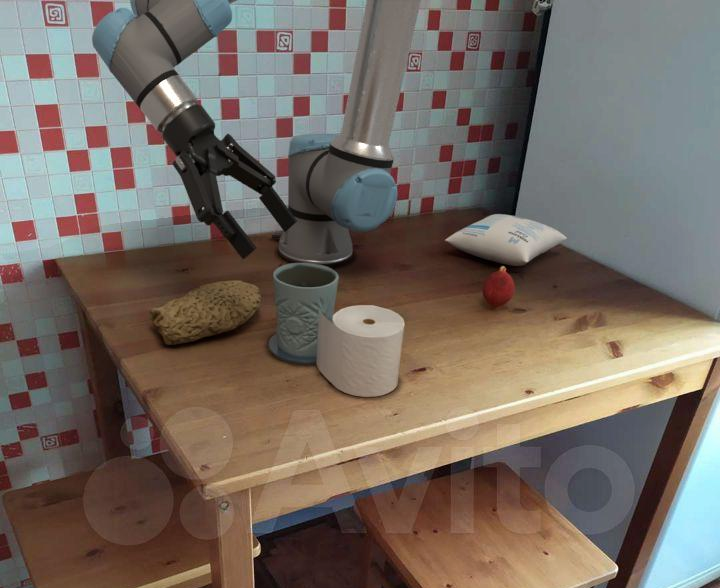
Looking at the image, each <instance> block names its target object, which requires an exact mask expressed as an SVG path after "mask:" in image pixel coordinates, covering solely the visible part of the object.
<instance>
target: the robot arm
mask: <svg viewBox="0 0 720 588" xmlns="http://www.w3.org/2000/svg"><path fill="white" fill-rule="evenodd" d="M237 1H238V0H129V3H130V7H131V10H130V8H128V7H119V8H117V9H116V10H114V11H110V12H109V13H107V14H106V15H105V16H104V17H102V19H101V20H100V21H99V22H98V23H97V24H96V26H95V28H94V30H93V32H92V36H91V39H92V40H91V42H92V47H93V48H94V50H95V51H96V53H97V54H98V55H99V57H100V58H101V60H102V61H103V63H104V64H105V66H106V67H107V69H108V70H109V72H110V74H112V75H113V76H114V78H115V79H116V80H117V82H118V83H119V84H120V85H121V87H122V88H123V89H124V91H125V92H126V93H127V95H128V96H129V97H130V98H131V99H132V100H133V102H134V103H135V104H136V105H137V107H138V109H139V110H141V112H142V113H143V114H144V115H145V118H147V119H148V121H149V122H150V124H151V125H152V126H153V127H154V130H156V131H157V132H158V133H160V134H161V133H162V134H161V136H162V137H161V138H162V140H163V141H164V143H165V144H166V145H167V146H168V148H169V149H170V150H171V151H172V153H173V154H174V156H176V157H175V159H174V160H173V161H172V166H173V167H174V169H175V171H176V172H177V173H178V175H179V176H180V179H181V181H182V183H183V186H184V189H185V192H186V193H187V197H188V199H189V201H190V204H191V207H192V209H193V212H194V215H195V217H196V219H197V220H198V222H200V223H204V225H206V226H208V227H209V226H211V225H212V224H214V226H215V227H216V228H217V230H218V231H219V232H220V233H221V234H222V236H223V237H224V239H225V240H227V241H228V242H229V244H230V245H231V246H232V248H233V249H234V250H235V251H236V253H237V254H238V255H239V256H240V258H241V259H242V260H245V259H246V258H247V257H248V256H249V255H251V254H252V253H253V252H254V251H255V250H257V246H256V245H255V244H254V242H253V241H252V240H251V238H250V237H249V236H248V234H247V233H246V232H245V230H244V229H243V228H242V227H241V225H240V224H239V223H238V222H237V220H236V219H235V217H234V216H233V215H232V214H231V212H230V211H229V210H226V211H225V212H224V208H223V204H222V199H221V194H220V189H219V183H218V179H217V177H220V176H225V177H228V176H229V177H231V178H233V179H234V180H236V181H238V182H239V183H241V184H242V185H244V186H246V187H247V188H250V189H251V190H252V191H255V192H256V193H258V194H259V195H260V197H258V199H259V200H260V201H261V203H262V204H263V206H264V207H265V208H266V209H267V211H268V212H269V214H270V216H272V218H273V219H274V220H275V222H276V223H277V224H278V225H279V227H280V228H281V230H282V231H281V234H272V235H271V238H272V239H274V240H275V239H279V241H278V254H279V256H280V257H281V258H282V259H284V260H286V261H287V262H289V263H291V264H292V263H312V264H318V265H323V266H326V267H329V268H331V267H332V268H333V267H336V266H337V267H338V266H340V265H344V264H346V263H348V262H350V261H351V259H352V258H353V250H354V249H353V242H352V238H351V234H350V231H351V232H352V235H355V232H356V233H368V232H371V231H373V230H376V229H377V228H378V227H379V226H381V225H382V224H384V223H385V222H387V220H388V219H389V218H390V217H391V215H392V214H393V212H394V209H395V207H396V205H397V201H398V195H399V194H398V186H397V185H396V181H395V179H394V177H393V176H392V175H391V174H392V169H393V165H394V160H395V155H394V154H393V153H394V152H393V151H392V150H391V148H390V146H389V144H390V139H391V135H392V132H393V131H392V130H393V126H394V121H395V117H396V114H397V108H398V104H399V99H400V94H401V91H402V87H403V82H404V78H405V73H406V68H407V63H408V60H409V56H410V51H411V46H412V43H413V37H414V33H415V29H416V25H417V20H418V15H419V11H420V6H421V2H422V0H366V1H365V7H364V12H363V17H362V22H361V27H360V32H359V38H358V44H357V49H356V53H355V58H354V64H353V69H352V74H351V79H350V85H349V90H348V96H347V99H346V105H345V110H344V116H343V122H342V126H341V130H340V133H339V134H338V133H303V134H298V135H295V136H293V137H292V138H291V139H290V142H289V147H288V154H287V158H288V180H287V181H288V182H287V183H288V188H287V189H288V191H287V195H288V197H287V198H288V199H287V205H286V204H285V202H284V200H282V198H281V197H280V196H279V194H278V193H277V191H276V190H275V188H274V185H275V184H276V183H277V180H276V179H277V177H276V175H275V174H274V173H273V172H271V171H270V170H269V169H268V168H267V167H266V166H264V165H263V164H262V163H261V162H259V161H258V160H257V159H256V158H255V157H253V155H251V154H250V153H249V152H248V151H247V150H245V149H244V148H243V146H241V145H240V144H239V143H238V142H237V141H236V140H235V138H234V137H233V136H232V135H231V134H230V133H226V135H224V137H223V138H222V139H220V138H218V137H217V135H216V134H215V129H216V123H215V121H214V119H212V117H211V116H210V115H209V113H208V111H206V109H205V108H204V106H203V105H202V104H199V103H198V98H197V97H196V95H195V94H194V92H193V91H192V90H191V89H190V87H189V86H188V85H187V84H186V82H185V81H184V80H183V78H182V77H181V76H180V74H179V73H178V72H177V70H176V68H175V67H177V66H178V65H180V64H181V63H182V62H184V61H185V60H186V59H187V58H189V57H190V56H191V55H193V54H194V53H196V52H197V51H198V50H200V49H201V48H202V47H204V46H205V45H206V44H207V43H209V42H210V41H211V40H213V39H214V38H217V37H218V36H219V34H221V33H222V31H224V30H225V29H226V28H227V27H228V26H229V25H230V24H231V23H232V20H233V11H232V8H231V4H233V3H235V2H237Z"/></svg>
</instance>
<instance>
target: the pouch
mask: <svg viewBox="0 0 720 588" xmlns="http://www.w3.org/2000/svg"><path fill="white" fill-rule="evenodd" d="M567 239H568V237H567V236H565V235H564V234H563V233H561V231H559V230H557V229H555V228H553V227H551V226H550V225H549V226H548V225H546V224H543V223H541V222H539V221H536V220H532V219H528V218H524V217H521V216H515V215H510V214H505V213H504V214H502V213H495V214H491V215H488V216H486V217H484V218H483V219H480V220H479V221H476V222H473V223H472V224H469V225H467V226H466V227H464V228H462V229H459V230H457V231H456V232H455V233H453V234H451V235H449V236H448V237H447V238H446V239H444V241H445V242H447V244H449V245H450V246H452V247H454V248H455V249H457V250H458V251H459V250H460V251H461V252H464V253H467V254H469V255H472V256H474V257H478V258H480V259H482V260H483V259H484V260H487V261H491V262H494V263H498V264H502V265H506V266H507V265H508V266H514V267H521V266H525V265H527V263H529V262H531V261H532V260H533V259H535V258H536V257H539V256H540V255H543V254H544V253H546V252H547V251H549V250H551V249H553V248H554V247H556V246H558V245H560V244H561V243H562V242H564V241H565V240H567Z"/></svg>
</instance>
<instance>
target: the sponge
mask: <svg viewBox="0 0 720 588" xmlns="http://www.w3.org/2000/svg"><path fill="white" fill-rule="evenodd" d="M261 298H262V294H261V291H260V288H259V286H257V285H255V284H252V283H250V282H245V281H242V280H234V279H232V280H220V281H216V282H211V283H207V284H203V285H200V286H197V288H194V289H192V290H189V291H188V292H187V293H186V294H184V296H182V297H179V298H175V299H172V300H169V301H168V302H166V303H165V304H164V305H162V306H158V307H153V308H150V309H149V314H148V318H149V321H150V322H151V324H152V326H153V327H154V328H156V329H157V332H158V333H159V334H160V335H161V336H162V340H163V342H164V343H165V344H166V345H167V346H169V345H173V346H175V345H180V344H186V343H190V342H196V341H198V340H200V339H203V338H205V337H212V336H215V335H219V334H221V333H226V332H230V331H233V330H235V329H237V328H238V327H239V326H242V325H244V324H245V323H246V322H247V321H248V320H249V319H250V318H251V317H252V316H254V315H255V313H256V312H257V311H258V309H259V308H260V305H261V301H262V300H261Z"/></svg>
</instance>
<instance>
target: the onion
mask: <svg viewBox="0 0 720 588" xmlns="http://www.w3.org/2000/svg"><path fill="white" fill-rule="evenodd" d="M514 294H515V283H514V280H513V277H512V276H511V275H510V274H509V273H508V272H507V268H506V266H504V265H501V266H500V268H499V269H498V270H497V271H495V272H492V273H491V274H490V275H489V276H488V277H487V278H486V279H485V281H484V283H483V286H482V296H483V298H484V300H485V301H486V303H487V304H488V305H489V306H490V307H492V309H498V308H501V307H503V306H505V305H506V304H508V303H509V302H510V301H511V300H512V299H513V298H514Z"/></svg>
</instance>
